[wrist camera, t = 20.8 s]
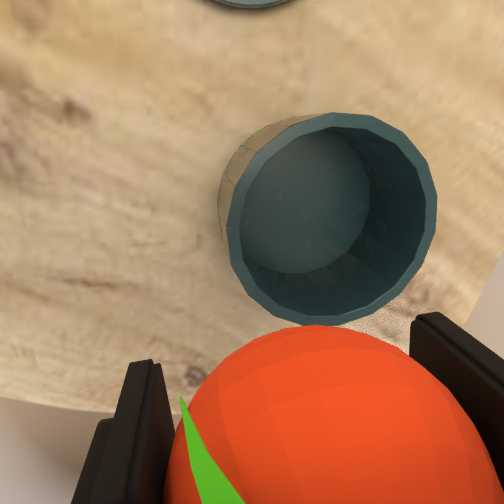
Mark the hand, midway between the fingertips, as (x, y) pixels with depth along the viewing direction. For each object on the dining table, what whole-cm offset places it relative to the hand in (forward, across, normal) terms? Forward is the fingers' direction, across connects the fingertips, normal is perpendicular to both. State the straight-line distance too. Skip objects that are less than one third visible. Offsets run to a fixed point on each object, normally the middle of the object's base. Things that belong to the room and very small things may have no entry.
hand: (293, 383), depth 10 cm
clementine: (+1, 0, 0) cm, 1 cm away
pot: (+18, -5, -1) cm, 19 cm away
